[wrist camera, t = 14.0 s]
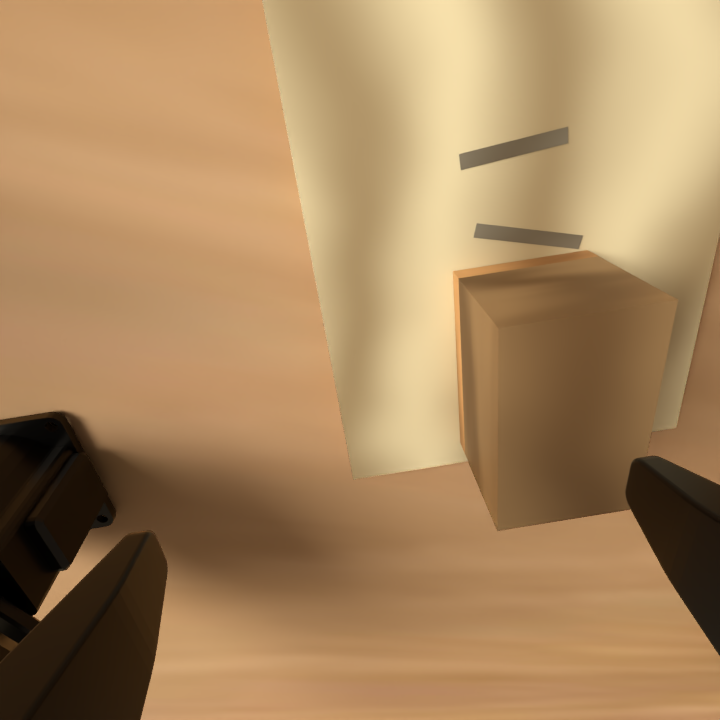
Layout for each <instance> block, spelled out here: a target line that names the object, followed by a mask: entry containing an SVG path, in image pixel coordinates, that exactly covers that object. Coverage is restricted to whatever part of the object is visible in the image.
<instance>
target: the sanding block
mask: <svg viewBox="0 0 720 720" xmlns="http://www.w3.org/2000/svg"><path fill="white" fill-rule="evenodd" d="M453 288H454V312H455V335H456V358H457V381H458V404H459V427H460V443H461V446H462V448H463V451H464V453H465V455H466V458H467V460H468V462H469V465H470V467H471V469H472V472H473V474H474V477H475V479H476V481H477V484H478V486H479V488H480V491H481V493H482V496H483V498H484V500H485V503H486V505H487V507H488V510H489V512H490V514H491V517H492V519H493V522H494V524H495V526H496V529H497V531H500V530H506V529H513V528H519V527H525V526H531V525H537V524H544V523H550V522H556V521H562V520H568V519H575V518H581V517H587V516H593V515H599V514H606V513H612V512H618V511H624V510H630V507H629V505H628V503H627V500H626V496H625V489H626V484H627V479H628V475H629V470H630V465H631V462H632V461H633V460H634V459H636V458H641V457H647V453H648V448H649V443H650V438H651V433H652V428H653V423H654V418H655V413H656V408H657V403H658V398H659V393H660V388H661V383H662V378H663V373H664V368H665V363H666V358H667V353H668V348H669V343H670V338H671V333H672V328H673V323H674V318H675V313H676V308H677V303H678V299H676V298H674V297H672V296H670V295H669V294H667V293H665V292H663V291H661V290H660V289H658V288H656V287H654V286H652V285H650V284H649V283H647V282H645V281H643V280H641V279H639V278H638V277H636V276H634V275H632V274H630V273H629V272H627V271H625V270H623V269H621V268H619V267H618V266H616V265H614V264H612V263H610V262H608V261H607V260H605V259H603V258H601V257H599V256H598V255H596V254H594V253H592V252H590V251H588V250H584V251H578V252H572V253H565V254H559V255H553V256H546V257H540V258H534V259H527V260H521V261H515V262H508V263H502V264H496V265H489V266H483V267H477V268H470V269H464V270H458V271H453Z"/></svg>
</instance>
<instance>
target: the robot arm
mask: <svg viewBox="0 0 720 720" xmlns="http://www.w3.org/2000/svg"><path fill="white" fill-rule="evenodd" d="M50 422H52V423H55V424H56V425H57V426H53V425H52V424H51V423H50ZM625 496H626V500H627V503H628V505H629V507H630V509H631V511H632V512H633V514H634V516H635V518H636V520H637V522H638V524H639V525H640V527H641V529H642V531H643V533H644V535H645V537H646V538H647V540H648V542H649V544H650V546H651V548H652V550H653V552H654V553H655V555H656V557H657V559H658V561H659V563H660V565H661V566H662V568H663V570H664V572H665V573H666V575H667V577H668V579H669V580H670V582H671V583H672V585H673V586H674V588H675V590H676V591H677V593H678V594H679V596H680V597H681V599H682V600H683V602H684V603H685V605H686V606H687V608H688V609H689V611H690V612H691V614H692V615H693V617H694V618H695V620H696V621H697V623H698V624H699V626H700V627H701V629H702V630H703V632H704V633H705V635H706V636H707V638H708V639H709V641H710V642H711V644H712V645H713V647H714V648H715V650H716V651H717V652H718V654H719V655H720V485H719V484H716V483H714V482H712V481H710V480H708V479H706V478H704V477H701V476H699V475H697V474H695V473H693V472H691V471H689V470H686V469H684V468H682V467H680V466H678V465H676V464H673V463H671V462H669V461H667V460H665V459H663V458H660V457H658V456H648V457H641V458H636V459H634V460H633V461H632V462H631V465H630V470H629V475H628V479H627V484H626V489H625ZM102 515H104V516H102ZM115 516H116V511H115V509H114V507H113V505H112V503H111V501H110V499H109V498H108V494H107V492H106V490H105V488H104V486H103V484H102V482H101V480H100V479H99V477H98V475H97V473H96V471H95V469H94V467H93V465H92V463H91V462H90V460H89V458H88V456H87V455H86V454H85V452H84V450H83V448H82V447H81V445H80V443H79V441H78V439H77V437H76V435H75V433H74V431H73V430H72V428H71V426H70V424H69V422H68V420H67V419H66V418H65V416H63V415H62V414H60V413H56V412H49V413H43V414H36V415H30V416H24V417H18V418H11V419H5V420H0V720H140V719H141V715H142V711H143V707H144V703H145V699H146V695H147V691H148V687H149V683H150V679H151V675H152V670H153V666H154V661H155V656H156V650H157V643H158V636H159V629H160V622H161V615H162V608H163V601H164V594H165V587H166V579H167V561H166V558H165V556H164V553H163V551H162V549H161V546H160V544H159V542H158V539H157V537H156V535H155V533H154V532H152V531H149V530H147V531H140V532H134V533H130V534H128V535H126V536H125V537H124V538H123V539H122V540H121V541H120V542H119V543H118V544H117V545H116V546H115V547H114V548H113V549H112V550H111V551H110V552H109V553H108V554H107V555H106V556H105V557H104V558H103V559H102V560H101V561H100V562H99V563H98V564H97V565H96V566H95V567H94V568H93V569H92V570H91V571H90V572H89V573H88V574H87V575H86V576H85V577H84V578H83V579H82V580H81V581H80V582H79V583H78V584H77V585H76V586H75V587H74V588H73V589H72V590H71V591H70V592H69V593H68V594H67V595H66V596H65V597H64V598H63V599H62V600H61V601H60V602H59V603H58V604H57V605H56V606H55V607H54V608H53V609H52V610H51V611H50V612H49V613H48V614H47V615H46V616H45V617H44V618H43V619H42V620H41V621H40V620H38V619H36V618H35V617H33V616H32V615H35V614H36V613H37V612H38V610H39V608H40V606H41V604H42V603H43V601H44V599H45V597H46V595H47V594H48V592H49V590H50V588H51V586H52V584H53V583H54V581H55V579H56V577H57V575H58V574H59V572H60V571H63V570H67V569H68V568H69V567H70V565H71V564H72V562H73V560H74V558H75V556H76V554H77V553H78V551H79V549H80V547H81V545H82V543H83V541H84V539H85V538H86V536H87V534H88V532H89V530H90V529H92V528H99V527H105V526H109V525H111V524H112V523H113V521H114V519H115Z"/></svg>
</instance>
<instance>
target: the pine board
mask: <svg viewBox="0 0 720 720" xmlns="http://www.w3.org/2000/svg"><path fill="white" fill-rule="evenodd" d="M262 3H263V8H264V13H265V18H266V24H267V29H268V34H269V39H270V45H271V50H272V55H273V60H274V66H275V71H276V76H277V81H278V87H279V92H280V97H281V102H282V108H283V113H284V118H285V124H286V129H287V134H288V139H289V145H290V150H291V155H292V160H293V166H294V171H295V176H296V181H297V187H298V192H299V197H300V202H301V208H302V213H303V218H304V223H305V229H306V234H307V239H308V244H309V250H310V255H311V260H312V265H313V271H314V276H315V281H316V286H317V292H318V297H319V302H320V307H321V313H322V318H323V323H324V329H325V334H326V339H327V344H328V350H329V355H330V360H331V365H332V371H333V376H334V381H335V386H336V392H337V397H338V402H339V407H340V413H341V418H342V423H343V428H344V434H345V439H346V444H347V449H348V455H349V460H350V465H351V470H352V476H353V480H355V479H361V478H368V477H374V476H380V475H386V474H393V473H399V472H405V471H411V470H418V469H424V468H430V467H436V466H443V465H449V464H455V463H461V462H467V461H468V460H467V458H466V455H465V453H464V451H463V448H462V446H461V443H460V427H459V404H458V381H457V358H456V335H455V312H454V288H453V271H458V270H464V269H470V268H477V267H483V266H489V265H496V264H502V263H508V262H515V261H521V260H527V259H534V258H540V257H546V256H553V255H559V254H565V253H572V252H578V251H584V250H588V251H590V252H592V253H594V254H596V255H598V256H599V257H601V258H603V259H605V260H607V261H608V262H610V263H612V264H614V265H616V266H618V267H619V268H621V269H623V270H625V271H627V272H629V273H630V274H632V275H634V276H636V277H638V278H639V279H641V280H643V281H645V282H647V283H649V284H650V285H652V286H654V287H656V288H658V289H660V290H661V291H663V292H665V293H667V294H669V295H670V296H672V297H674V298H676V299H678V303H677V308H676V313H675V318H674V323H673V328H672V333H671V338H670V343H669V348H668V353H667V358H666V363H665V368H664V373H663V378H662V383H661V388H660V393H659V398H658V403H657V408H656V413H655V418H654V423H653V428H652V432H655V431H661V430H667V429H673V428H676V426H677V422H678V418H679V413H680V409H681V404H682V400H683V395H684V391H685V386H686V382H687V378H688V373H689V369H690V364H691V360H692V355H693V351H694V346H695V342H696V337H697V333H698V329H699V324H700V320H701V315H702V311H703V306H704V302H705V297H706V293H707V289H708V284H709V280H710V275H711V271H712V266H713V262H714V257H715V253H716V249H717V244H718V240H719V235H720V0H262Z"/></svg>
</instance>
